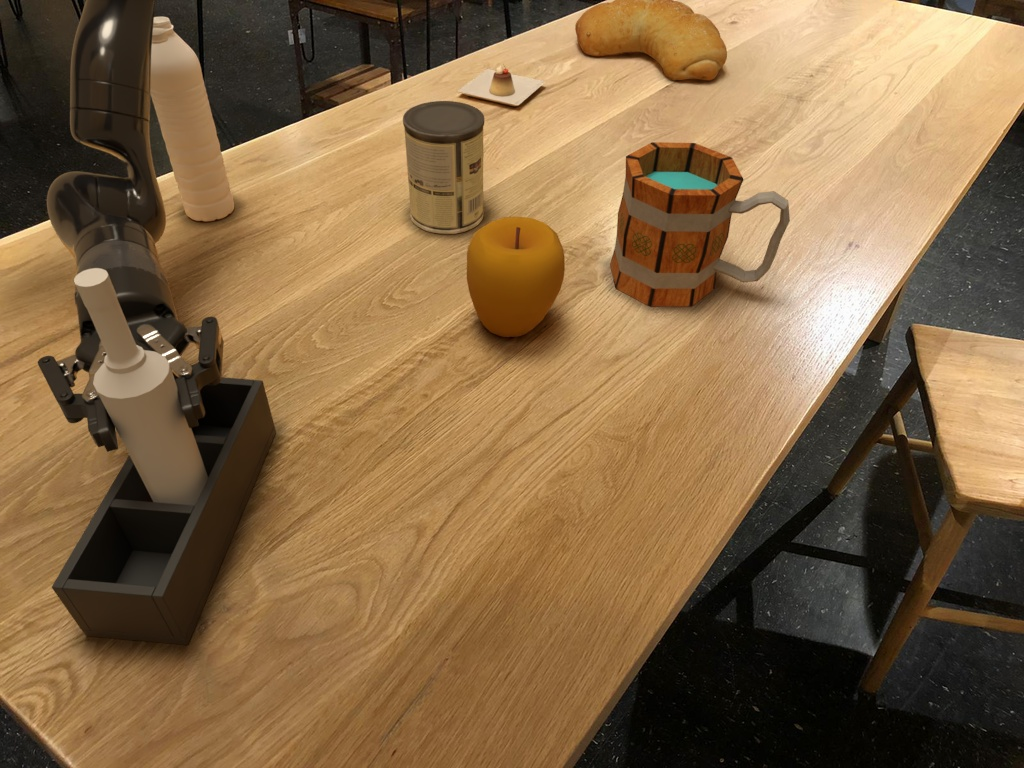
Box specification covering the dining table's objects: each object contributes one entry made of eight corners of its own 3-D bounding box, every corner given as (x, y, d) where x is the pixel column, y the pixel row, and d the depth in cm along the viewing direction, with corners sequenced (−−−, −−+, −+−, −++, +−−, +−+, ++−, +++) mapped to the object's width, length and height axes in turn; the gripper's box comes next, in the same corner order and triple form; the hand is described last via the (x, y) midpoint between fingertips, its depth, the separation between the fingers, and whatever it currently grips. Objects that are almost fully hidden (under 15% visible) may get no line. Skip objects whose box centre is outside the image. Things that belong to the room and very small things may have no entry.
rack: (85, 636, 59) (51, 587, 54) (196, 425, 76) (177, 373, 71) (187, 645, 59) (162, 597, 54) (276, 431, 75) (262, 380, 71)
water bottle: (187, 200, 107) (132, 10, 90) (236, 196, 108) (190, 8, 91) (182, 233, 101) (121, 36, 84) (233, 229, 102) (184, 33, 85)
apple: (553, 360, 85) (562, 263, 76) (457, 348, 86) (455, 250, 77) (564, 301, 92) (573, 207, 84) (476, 290, 94) (476, 196, 85)
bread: (746, 61, 152) (758, 7, 145) (700, 91, 140) (712, 35, 134) (608, 23, 166) (614, -27, 159) (556, 48, 154) (560, -5, 147)
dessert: (545, 87, 140) (547, 60, 136) (518, 111, 132) (519, 83, 128) (487, 74, 143) (487, 48, 140) (456, 97, 135) (456, 70, 132)
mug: (595, 293, 94) (610, 182, 84) (622, 238, 103) (639, 132, 93) (757, 332, 89) (794, 220, 79) (770, 270, 99) (804, 163, 88)
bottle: (214, 535, 65) (120, 301, 48) (151, 537, 65) (34, 302, 47) (226, 487, 69) (143, 254, 51) (167, 489, 68) (63, 255, 51)
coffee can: (418, 193, 110) (412, 97, 101) (488, 199, 110) (490, 103, 100) (401, 231, 103) (394, 131, 93) (477, 238, 102) (477, 138, 92)
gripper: (219, 314, 72) (259, 436, 61) (51, 355, 67) (62, 495, 56) (199, 247, 67) (239, 367, 56) (16, 285, 62) (20, 424, 51)
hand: (150, 430), depth 56 cm, fingers closed on bottle, 5 cm apart
